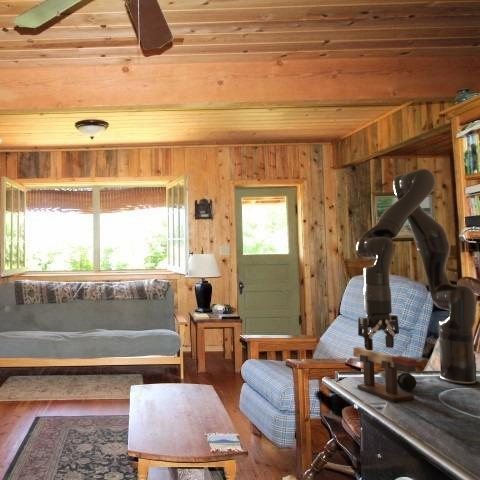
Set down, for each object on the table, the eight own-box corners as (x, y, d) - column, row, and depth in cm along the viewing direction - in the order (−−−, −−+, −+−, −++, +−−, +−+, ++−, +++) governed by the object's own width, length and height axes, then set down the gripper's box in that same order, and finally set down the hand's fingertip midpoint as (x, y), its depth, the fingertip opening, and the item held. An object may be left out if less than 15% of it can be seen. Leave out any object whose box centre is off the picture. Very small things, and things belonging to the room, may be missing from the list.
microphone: (377, 383, 149) (406, 394, 129) (370, 367, 150) (398, 376, 130) (392, 378, 148) (423, 389, 129) (385, 363, 149) (415, 371, 130)
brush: (351, 356, 139) (351, 346, 139) (360, 355, 140) (359, 345, 140) (407, 372, 120) (407, 360, 120) (417, 371, 121) (416, 359, 121)
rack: (356, 388, 135) (355, 355, 135) (375, 385, 137) (374, 353, 137) (393, 402, 122) (392, 365, 122) (414, 399, 124) (412, 363, 125)
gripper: (383, 296, 137) (385, 344, 137) (350, 298, 133) (352, 348, 133) (405, 298, 130) (407, 349, 130) (370, 300, 126) (372, 353, 126)
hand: (379, 348), depth 131 cm, fingers open, 8 cm apart
